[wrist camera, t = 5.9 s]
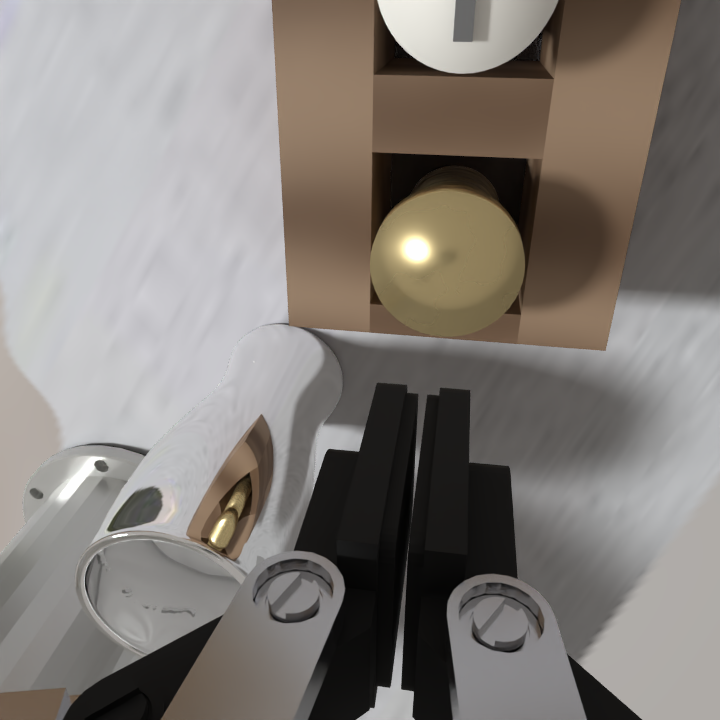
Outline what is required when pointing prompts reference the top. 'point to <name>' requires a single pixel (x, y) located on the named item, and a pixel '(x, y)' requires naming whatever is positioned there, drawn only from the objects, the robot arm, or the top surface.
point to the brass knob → (448, 255)
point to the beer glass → (213, 494)
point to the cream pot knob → (465, 30)
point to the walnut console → (468, 138)
